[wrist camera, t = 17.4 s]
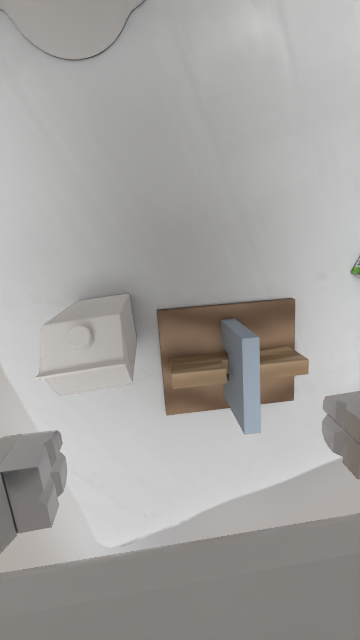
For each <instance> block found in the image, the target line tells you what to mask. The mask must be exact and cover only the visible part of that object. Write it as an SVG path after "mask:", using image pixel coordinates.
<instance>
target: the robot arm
mask: <svg viewBox="0 0 360 640" xmlns="http://www.w3.org/2000/svg"><path fill="white" fill-rule="evenodd" d="M143 1H144V0H0V9H1V10H3V11H4V12H5V13H6V14H7V15H8V16H9V18H10V19H11V20H12V22H13V23H14V24H15V26H16V27H17V28H18V30H19V31H20V32H21V33H22V34H23V35H24V36H25V37H26V38H27V39H28V40H29V41H30V42H31V43H32V44H33V45H35V46H36V47H38V48H39V49H41V50H42V51H44V52H46V53H48V54H51V55H53V56H56V57H60V58H64V59H83V58H88V57H91V56H94V55H96V54H98V53H100V52H102V51H103V50H105V49H106V48H107V47H109V46H110V45H111V44H112V43H113V42H114V41H115V39H116V38H117V37H118V35H119V34H120V32H121V30H122V29H123V27H124V24H125V22H126V20H127V18H128V16H129V14H130V13H131V11H132V10H133V9H135V8H136V7H137V6H138V5H139V4H141V3H142V2H143ZM323 410H324V411H325V412H326V414H327V415H326V417H325V418H324V420H323V421H322V432H323V436H324V440H325V442H326V443H327V445H328V447H329V448H330V449H331V450H332V451H333V452H334V453H336V454H338V455H340V456H342V457H343V464H344V465H345V466H346V467H347V468H348V469H349V470H350V471H351V472H352V474H353V475H354V476H355V477H356V478H357V479H360V391H357V392H351V393H344V394H338V395H331V396H325V399H324V401H323ZM61 446H62V438H61V434H60V432H59V431H58V430H55V431H46V432H37V433H28V434H18V435H11V436H5V437H2V438H0V554H1V552H2V551H3V550H4V549H5V548H6V547H7V546H8V545H9V544H10V543H11V541H12V540H13V539H14V538H15V537H16V536H17V533H22V532H28V531H33V530H39V529H44V528H50V527H52V525H53V522H54V519H55V516H56V513H57V509H58V506H59V503H58V498H57V497H58V496H59V495H60V494H62V492H63V491H64V488H65V485H66V478H67V463H66V458H65V456H64V455H63V454H62V453H61V452H60V449H61ZM0 640H360V513H359V514H353V515H347V516H341V517H335V518H329V519H323V520H317V521H311V522H305V523H299V524H293V525H287V526H281V527H275V528H269V529H263V530H257V531H251V532H245V533H239V534H234V535H227V536H221V537H215V538H209V539H204V540H197V541H191V542H186V543H179V544H174V545H167V546H161V547H156V548H150V549H144V550H137V551H131V552H126V553H119V554H113V555H107V556H101V557H95V558H90V559H83V560H77V561H71V562H66V563H59V564H54V565H48V566H41V567H35V568H29V569H23V570H18V571H11V572H5V573H0Z"/></svg>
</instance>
